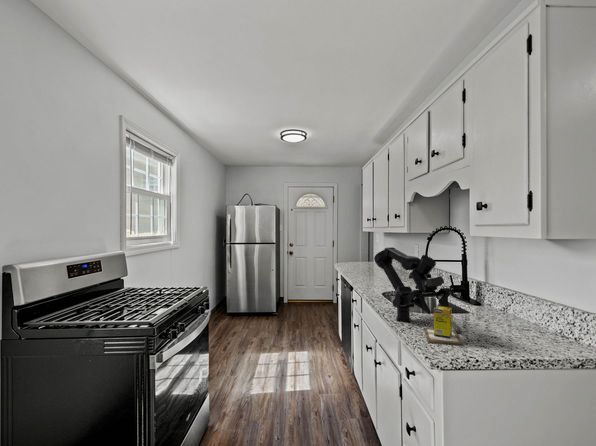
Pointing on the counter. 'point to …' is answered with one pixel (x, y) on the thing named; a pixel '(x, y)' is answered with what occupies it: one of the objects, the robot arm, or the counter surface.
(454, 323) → the dark grey rod
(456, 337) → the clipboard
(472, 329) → the counter surface
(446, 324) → the supplement box
